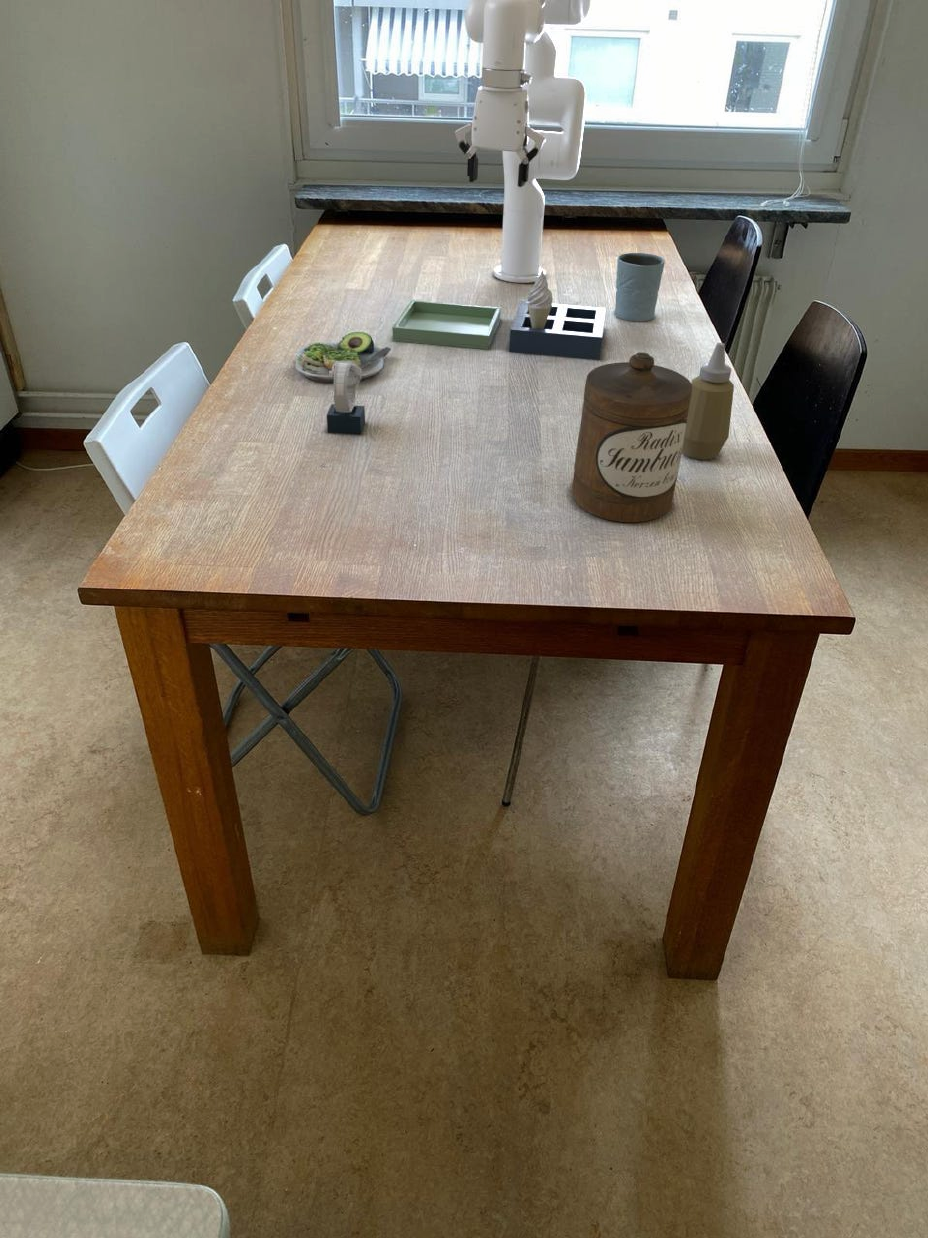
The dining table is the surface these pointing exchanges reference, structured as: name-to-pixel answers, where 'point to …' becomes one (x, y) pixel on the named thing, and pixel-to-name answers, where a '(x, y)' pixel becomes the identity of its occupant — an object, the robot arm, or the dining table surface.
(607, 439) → the wooden container
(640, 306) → the blue ceramic cup
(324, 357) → the avocado toast plate
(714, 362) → the squeeze bottle
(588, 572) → the dining table surface
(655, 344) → the dining table surface
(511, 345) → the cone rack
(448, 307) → the shallow green box
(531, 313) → the ice cream cone
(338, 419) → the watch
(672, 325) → the dining table surface
